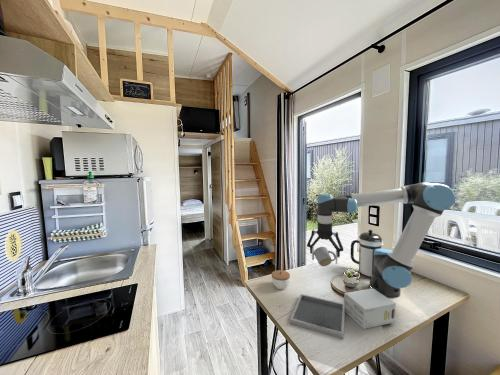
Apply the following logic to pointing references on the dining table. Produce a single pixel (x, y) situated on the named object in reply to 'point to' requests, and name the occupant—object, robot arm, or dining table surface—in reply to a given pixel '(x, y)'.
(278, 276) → the lidded jar
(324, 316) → the square tray
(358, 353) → the dining table surface
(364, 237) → the coffee press
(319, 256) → the ceramic mug
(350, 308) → the supplement box
